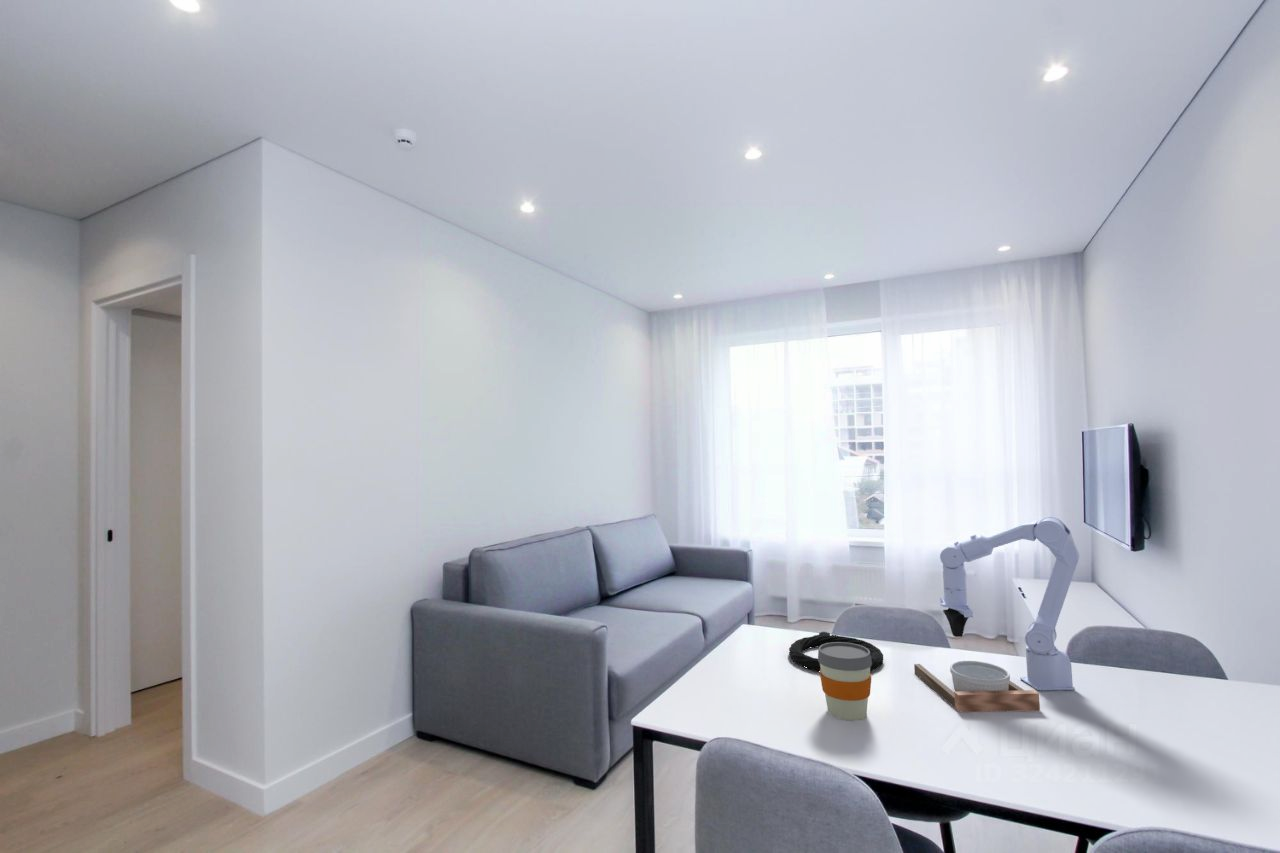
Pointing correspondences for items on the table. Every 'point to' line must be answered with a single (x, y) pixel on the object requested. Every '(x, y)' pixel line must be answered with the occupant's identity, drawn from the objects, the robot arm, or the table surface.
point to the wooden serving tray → (983, 696)
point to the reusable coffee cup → (845, 679)
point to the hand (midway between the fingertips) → (957, 636)
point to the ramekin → (979, 676)
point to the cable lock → (826, 638)
